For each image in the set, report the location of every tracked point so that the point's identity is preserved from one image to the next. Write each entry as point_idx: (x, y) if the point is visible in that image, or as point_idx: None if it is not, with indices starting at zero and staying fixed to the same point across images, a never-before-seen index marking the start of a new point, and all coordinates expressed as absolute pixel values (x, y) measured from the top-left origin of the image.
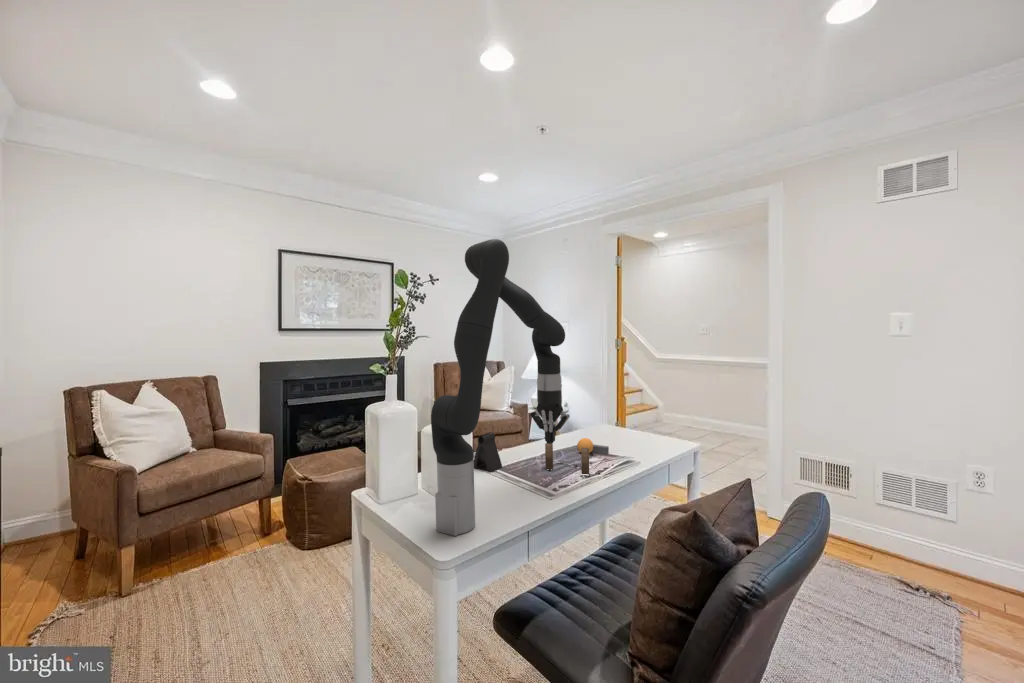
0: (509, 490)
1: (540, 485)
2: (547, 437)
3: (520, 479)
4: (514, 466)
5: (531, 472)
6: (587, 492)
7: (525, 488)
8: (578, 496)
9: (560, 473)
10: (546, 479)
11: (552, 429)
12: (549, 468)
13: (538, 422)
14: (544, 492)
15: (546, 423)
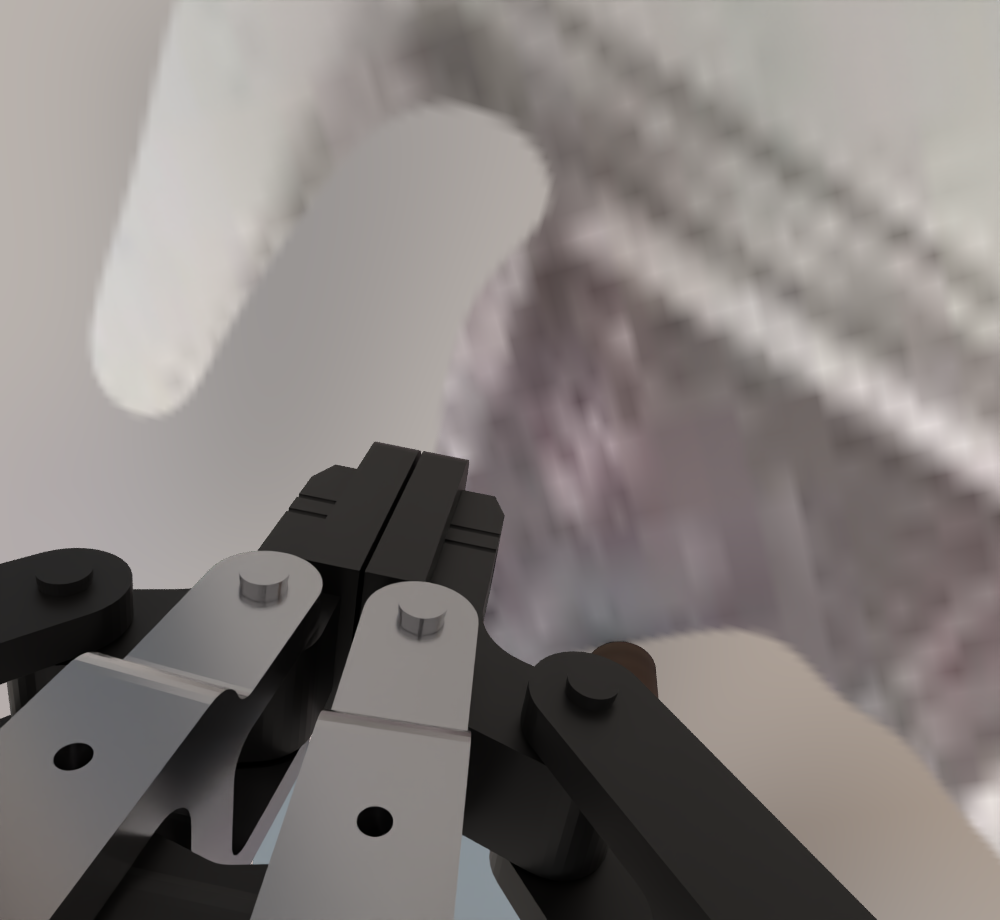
0: (937, 27)
1: (612, 279)
2: (421, 505)
3: (859, 381)
4: (981, 685)
5: (777, 577)
6: (133, 234)
7: (755, 149)
8: (173, 106)
9: (499, 607)
10: (590, 444)
11: (195, 589)
12: (612, 657)
13: (674, 827)
14: (523, 101)
15: (320, 723)
